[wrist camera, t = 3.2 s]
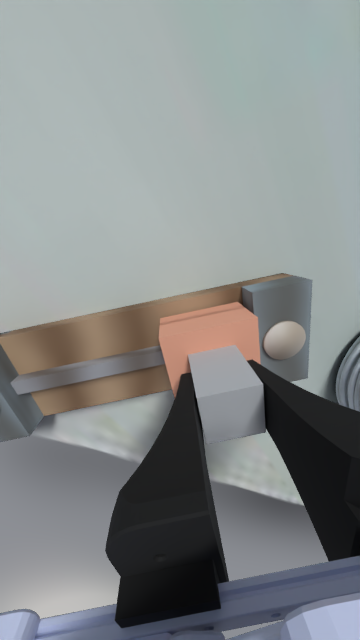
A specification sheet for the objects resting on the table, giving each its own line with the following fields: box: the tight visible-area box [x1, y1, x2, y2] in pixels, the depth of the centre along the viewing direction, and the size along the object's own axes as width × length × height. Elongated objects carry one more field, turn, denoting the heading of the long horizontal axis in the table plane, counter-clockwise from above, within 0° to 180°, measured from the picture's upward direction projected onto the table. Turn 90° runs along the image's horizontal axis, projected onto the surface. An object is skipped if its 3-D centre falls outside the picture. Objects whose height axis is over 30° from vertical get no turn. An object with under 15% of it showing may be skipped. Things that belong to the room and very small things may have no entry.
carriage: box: [159, 302, 266, 444], centre depth 12 cm, size 6×6×7 cm
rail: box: [0, 273, 312, 442], centre depth 16 cm, size 27×8×4 cm, turn 101°
